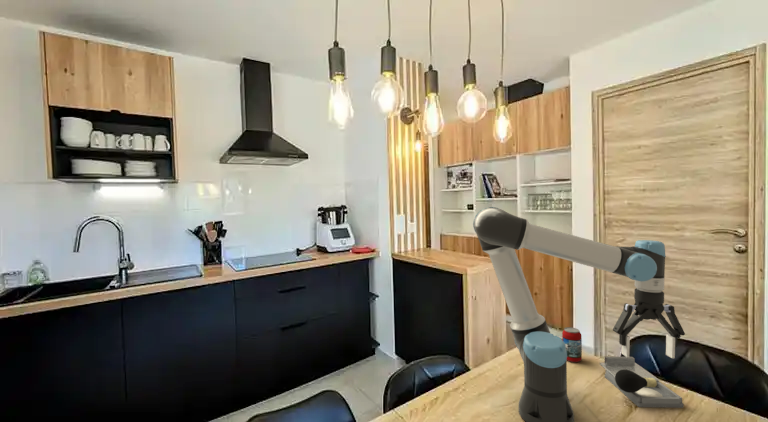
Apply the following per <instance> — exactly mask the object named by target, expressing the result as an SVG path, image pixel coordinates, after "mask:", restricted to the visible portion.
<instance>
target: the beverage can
mask: <svg viewBox="0 0 768 422" xmlns="http://www.w3.org/2000/svg"><path fill="white" fill-rule="evenodd" d="M561 339H562V340H563V342H564V343H565V346H566V351H567V361H568V362H571V363H578V362H581V361H582V358H583V356H582V354H583V353H582V350H583V347H582V346H583V344H582V342H583V340H582V333H581V332H580V330H579V329H578V328H576V327H571V326H569V327H568V326H567V327H564V329H563V330H562V333H561Z"/></svg>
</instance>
